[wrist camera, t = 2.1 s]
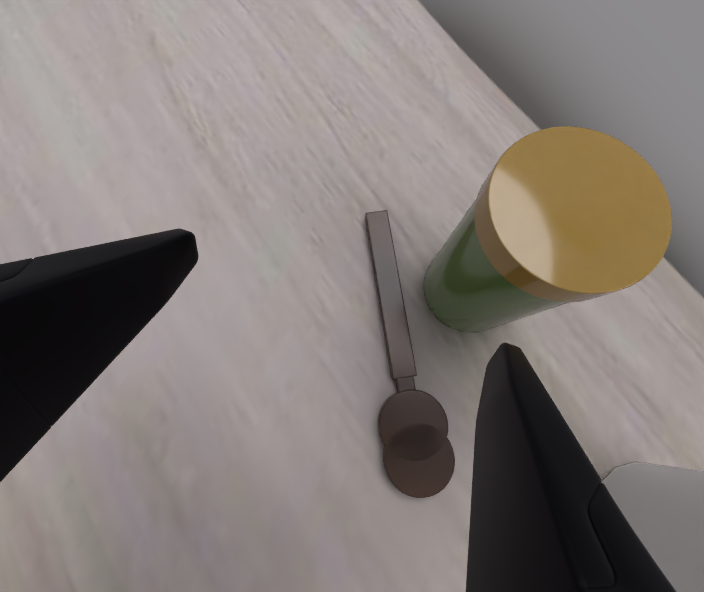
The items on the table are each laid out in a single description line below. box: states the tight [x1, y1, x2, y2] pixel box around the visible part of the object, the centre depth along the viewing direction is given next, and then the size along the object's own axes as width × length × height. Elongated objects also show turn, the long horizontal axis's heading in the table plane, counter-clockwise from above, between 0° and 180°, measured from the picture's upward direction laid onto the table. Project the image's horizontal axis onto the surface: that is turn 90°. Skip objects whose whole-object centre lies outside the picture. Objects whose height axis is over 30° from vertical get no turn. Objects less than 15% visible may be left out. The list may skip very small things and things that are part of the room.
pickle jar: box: [424, 126, 672, 332], centre depth 19 cm, size 7×7×12 cm
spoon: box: [365, 210, 455, 498], centre depth 24 cm, size 19×4×1 cm, turn 8°
